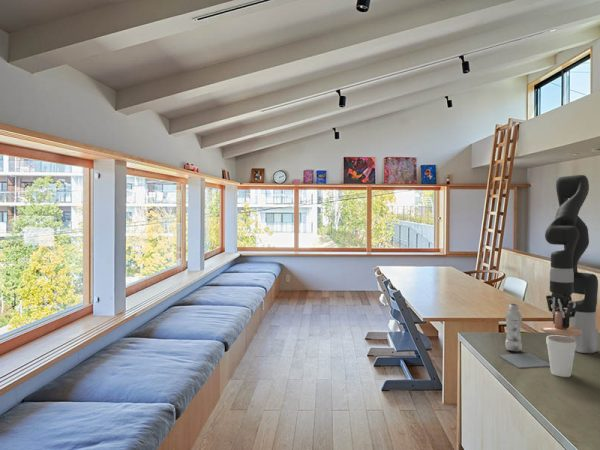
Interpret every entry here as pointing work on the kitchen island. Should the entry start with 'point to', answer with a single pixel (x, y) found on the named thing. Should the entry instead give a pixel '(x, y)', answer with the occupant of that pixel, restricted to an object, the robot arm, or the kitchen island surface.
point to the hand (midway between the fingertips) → (561, 325)
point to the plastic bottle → (513, 328)
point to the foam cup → (561, 354)
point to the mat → (524, 360)
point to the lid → (560, 327)
